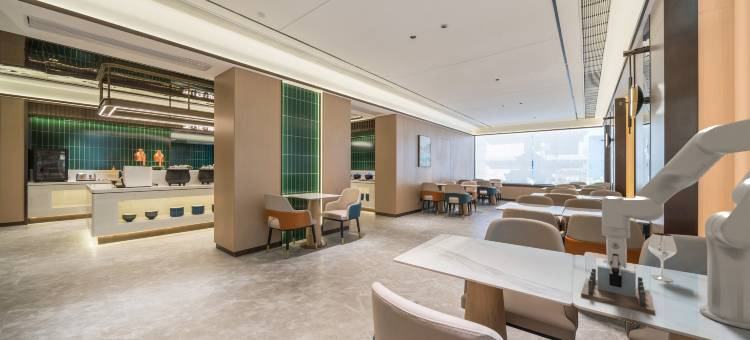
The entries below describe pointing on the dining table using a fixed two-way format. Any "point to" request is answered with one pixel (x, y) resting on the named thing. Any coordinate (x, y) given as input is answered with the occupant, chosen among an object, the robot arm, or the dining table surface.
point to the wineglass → (662, 250)
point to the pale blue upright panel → (627, 282)
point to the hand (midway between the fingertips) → (615, 282)
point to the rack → (618, 295)
